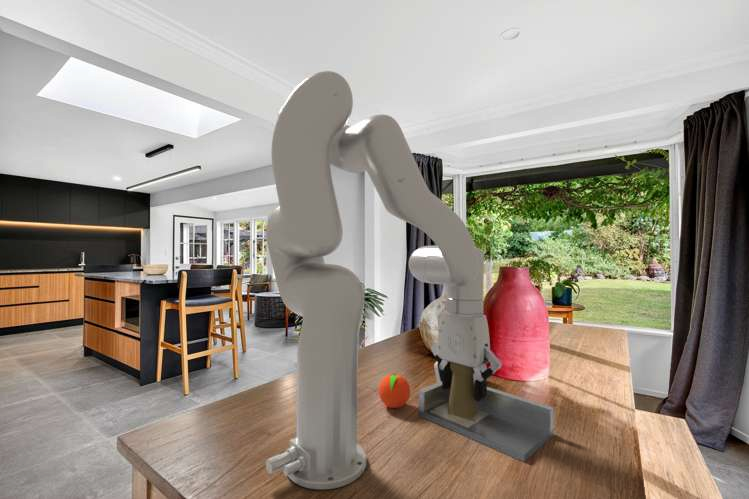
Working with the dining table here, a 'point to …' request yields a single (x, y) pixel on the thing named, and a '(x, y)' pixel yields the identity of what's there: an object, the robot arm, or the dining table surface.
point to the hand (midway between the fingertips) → (463, 392)
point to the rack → (493, 420)
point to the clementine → (394, 391)
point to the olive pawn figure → (462, 392)
